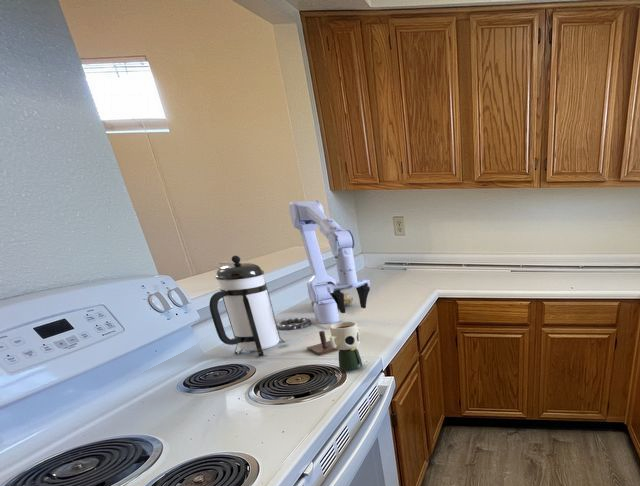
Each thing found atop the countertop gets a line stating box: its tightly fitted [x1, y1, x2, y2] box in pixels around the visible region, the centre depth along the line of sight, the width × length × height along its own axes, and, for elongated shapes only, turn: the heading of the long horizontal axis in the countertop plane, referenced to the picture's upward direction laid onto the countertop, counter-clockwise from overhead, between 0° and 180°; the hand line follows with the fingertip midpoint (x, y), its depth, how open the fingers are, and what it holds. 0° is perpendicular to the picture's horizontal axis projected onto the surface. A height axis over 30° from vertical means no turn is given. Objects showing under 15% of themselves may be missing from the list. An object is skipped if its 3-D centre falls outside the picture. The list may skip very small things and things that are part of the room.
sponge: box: [310, 291, 354, 308], centre depth 180 cm, size 13×8×20 cm
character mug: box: [329, 320, 363, 372], centre depth 117 cm, size 11×7×13 cm, turn 157°
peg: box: [306, 330, 339, 356], centre depth 134 cm, size 8×8×6 cm
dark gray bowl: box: [276, 317, 313, 331], centre depth 156 cm, size 12×12×3 cm
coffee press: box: [209, 255, 285, 358], centre depth 129 cm, size 17×16×30 cm
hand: (353, 310), depth 141 cm, fingers open, 7 cm apart
